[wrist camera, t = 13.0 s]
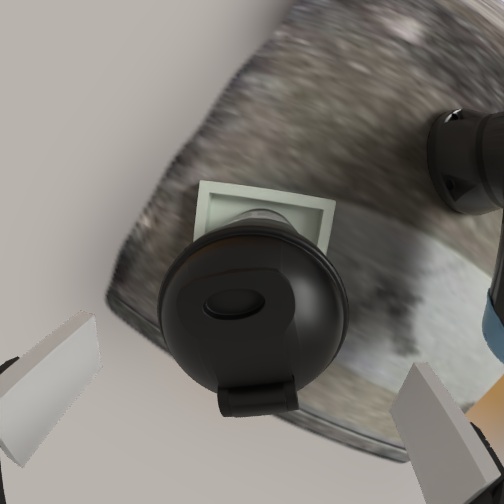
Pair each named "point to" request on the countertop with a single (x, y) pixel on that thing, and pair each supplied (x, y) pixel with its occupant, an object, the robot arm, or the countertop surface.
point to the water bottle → (253, 313)
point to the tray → (247, 197)
